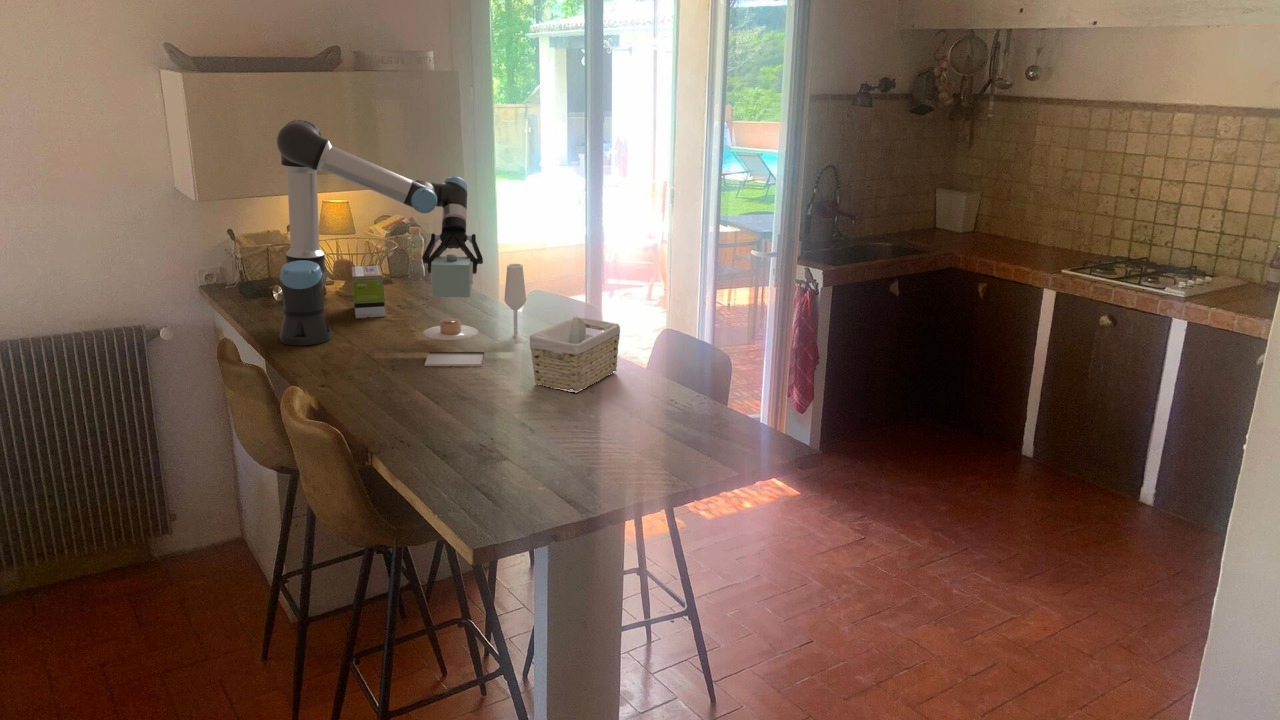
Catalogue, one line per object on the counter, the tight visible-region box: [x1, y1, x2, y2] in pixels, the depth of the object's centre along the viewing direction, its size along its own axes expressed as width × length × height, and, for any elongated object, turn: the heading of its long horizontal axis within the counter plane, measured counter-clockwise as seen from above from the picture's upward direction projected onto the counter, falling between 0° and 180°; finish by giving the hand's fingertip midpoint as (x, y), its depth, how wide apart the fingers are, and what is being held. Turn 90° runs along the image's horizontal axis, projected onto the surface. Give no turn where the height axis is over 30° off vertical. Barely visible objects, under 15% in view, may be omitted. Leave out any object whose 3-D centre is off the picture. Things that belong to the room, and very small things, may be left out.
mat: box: [424, 351, 485, 368], centre depth 279 cm, size 16×16×1 cm
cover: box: [431, 253, 473, 298], centre depth 290 cm, size 11×11×12 cm
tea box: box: [350, 265, 386, 319], centre depth 322 cm, size 15×10×15 cm, turn 18°
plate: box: [422, 318, 479, 341], centre depth 299 cm, size 17×17×5 cm
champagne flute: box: [503, 263, 527, 344], centre depth 294 cm, size 7×7×24 cm
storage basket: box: [529, 316, 621, 391], centre depth 262 cm, size 24×16×15 cm
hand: (451, 281), depth 289 cm, fingers closed on cover, 11 cm apart
